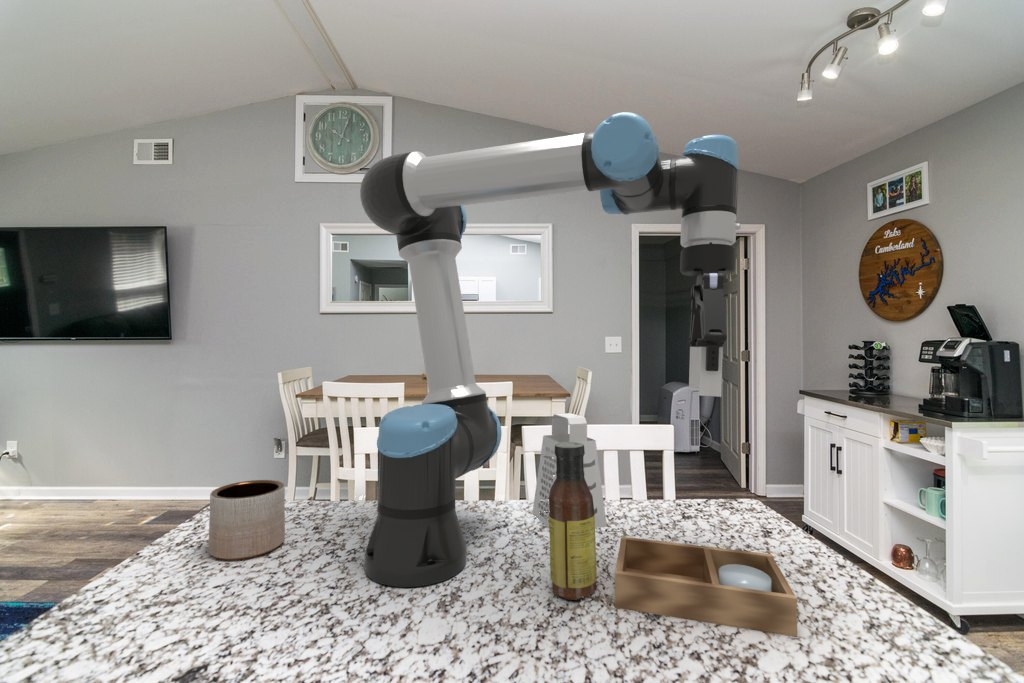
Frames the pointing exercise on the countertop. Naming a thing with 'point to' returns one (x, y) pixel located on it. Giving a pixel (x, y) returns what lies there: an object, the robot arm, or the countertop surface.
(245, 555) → the planter
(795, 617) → the caddy
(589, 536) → the sauce bottle
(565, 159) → the robot arm
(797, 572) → the countertop surface
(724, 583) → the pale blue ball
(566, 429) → the grater
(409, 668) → the countertop surface
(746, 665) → the countertop surface
